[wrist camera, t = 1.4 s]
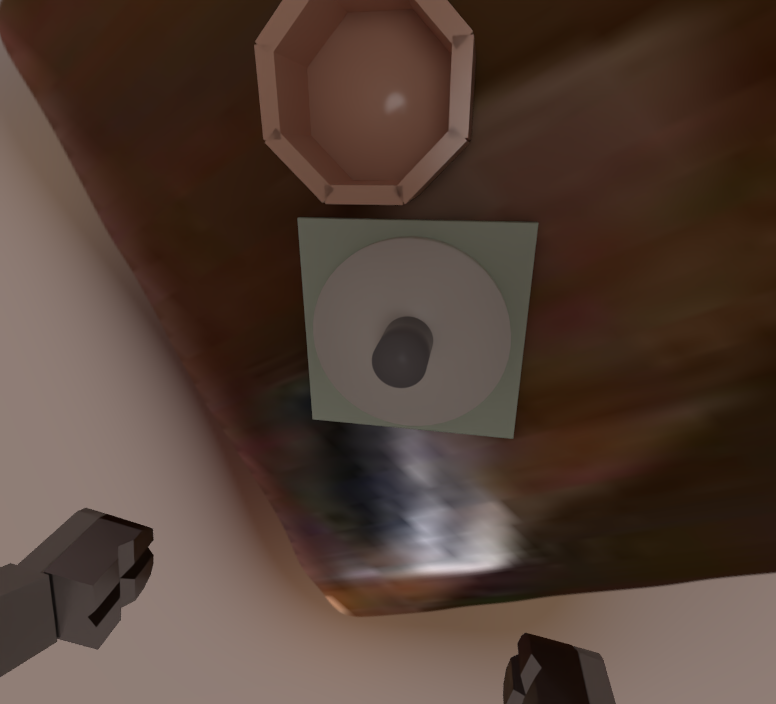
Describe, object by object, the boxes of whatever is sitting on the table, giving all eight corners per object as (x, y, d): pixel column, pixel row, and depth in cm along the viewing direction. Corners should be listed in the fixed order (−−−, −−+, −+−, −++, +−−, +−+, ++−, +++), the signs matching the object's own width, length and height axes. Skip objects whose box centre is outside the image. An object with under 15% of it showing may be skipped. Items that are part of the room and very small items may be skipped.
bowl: (480, -12, 26) (479, -54, 21) (467, 196, 30) (464, 206, 25) (292, 0, 28) (246, -36, 23) (305, 194, 32) (269, 203, 27)
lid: (520, 238, 30) (526, 254, 26) (501, 425, 36) (503, 467, 31) (311, 233, 33) (282, 247, 28) (323, 409, 38) (301, 446, 34)
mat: (537, 221, 30) (538, 223, 30) (512, 434, 37) (513, 438, 36) (300, 217, 33) (297, 218, 33) (315, 415, 39) (312, 419, 39)
